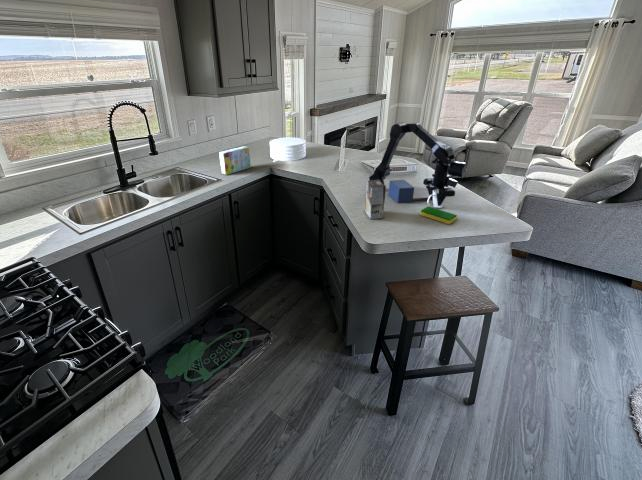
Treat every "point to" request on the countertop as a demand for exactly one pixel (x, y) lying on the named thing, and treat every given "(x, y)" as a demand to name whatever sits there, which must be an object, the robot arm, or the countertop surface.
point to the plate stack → (287, 149)
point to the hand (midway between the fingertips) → (435, 203)
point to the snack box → (234, 160)
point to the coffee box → (375, 199)
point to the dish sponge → (438, 215)
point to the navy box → (406, 192)
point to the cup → (435, 199)
